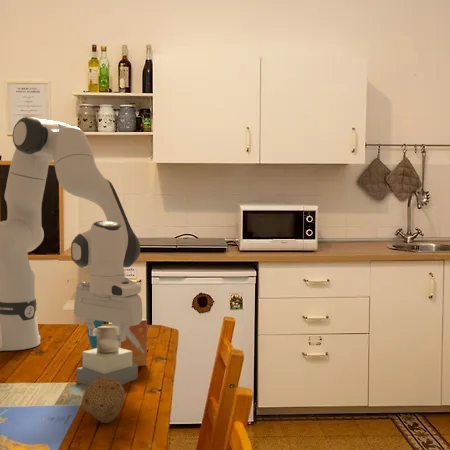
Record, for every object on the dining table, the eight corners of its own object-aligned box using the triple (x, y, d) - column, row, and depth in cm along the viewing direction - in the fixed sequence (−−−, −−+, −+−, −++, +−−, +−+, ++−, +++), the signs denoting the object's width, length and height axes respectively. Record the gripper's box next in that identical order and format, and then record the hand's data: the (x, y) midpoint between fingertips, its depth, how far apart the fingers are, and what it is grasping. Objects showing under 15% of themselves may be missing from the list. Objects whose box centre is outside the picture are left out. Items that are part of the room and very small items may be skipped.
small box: (120, 369, 174) (120, 322, 173) (111, 363, 179) (111, 318, 178) (147, 365, 178) (147, 319, 177) (137, 359, 183) (137, 315, 182)
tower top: (82, 366, 164) (82, 351, 164) (109, 359, 171) (109, 344, 171) (105, 374, 158) (105, 358, 158) (132, 366, 165) (132, 351, 165)
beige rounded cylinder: (92, 351, 163) (92, 327, 163) (107, 348, 168) (107, 325, 168) (108, 353, 160) (107, 329, 160) (123, 350, 165) (122, 326, 165)
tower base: (76, 383, 163) (76, 368, 162) (105, 372, 172) (105, 358, 172) (109, 391, 157) (109, 375, 157) (137, 379, 167) (137, 365, 166)
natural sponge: (77, 430, 132) (77, 383, 131) (86, 414, 141) (86, 370, 140) (121, 431, 132) (121, 384, 131) (127, 415, 141) (128, 370, 140)
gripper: (68, 282, 165) (68, 334, 166) (130, 290, 155) (130, 346, 156) (85, 279, 170) (85, 330, 171) (146, 287, 160) (145, 341, 161)
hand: (107, 338), depth 163 cm, fingers open, 8 cm apart
